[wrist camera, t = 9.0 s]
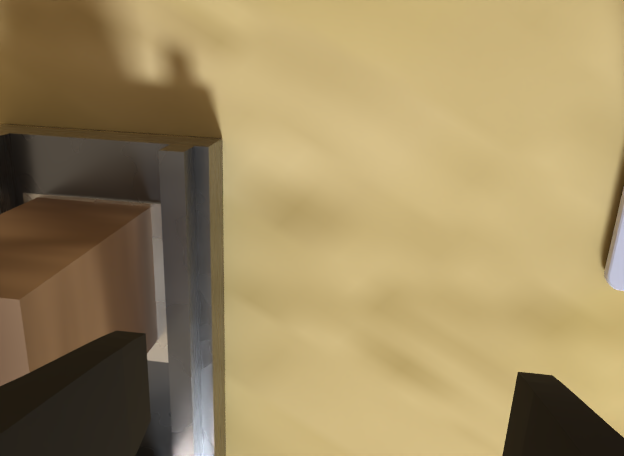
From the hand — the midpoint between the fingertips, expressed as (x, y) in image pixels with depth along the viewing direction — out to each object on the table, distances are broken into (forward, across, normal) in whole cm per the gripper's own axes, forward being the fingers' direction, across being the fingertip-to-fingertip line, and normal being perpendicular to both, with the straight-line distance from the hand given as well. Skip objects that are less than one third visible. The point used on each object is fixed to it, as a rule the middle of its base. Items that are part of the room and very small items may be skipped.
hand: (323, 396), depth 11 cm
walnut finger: (+8, +9, +2) cm, 12 cm away
